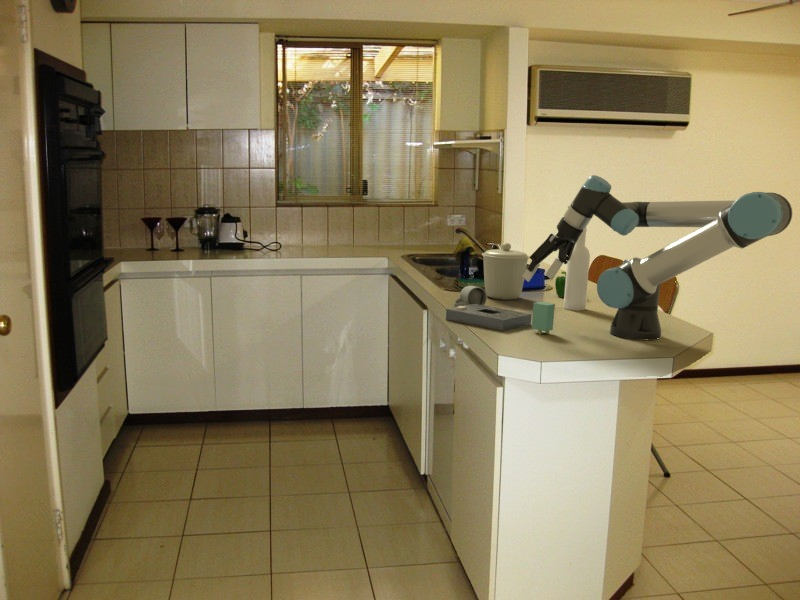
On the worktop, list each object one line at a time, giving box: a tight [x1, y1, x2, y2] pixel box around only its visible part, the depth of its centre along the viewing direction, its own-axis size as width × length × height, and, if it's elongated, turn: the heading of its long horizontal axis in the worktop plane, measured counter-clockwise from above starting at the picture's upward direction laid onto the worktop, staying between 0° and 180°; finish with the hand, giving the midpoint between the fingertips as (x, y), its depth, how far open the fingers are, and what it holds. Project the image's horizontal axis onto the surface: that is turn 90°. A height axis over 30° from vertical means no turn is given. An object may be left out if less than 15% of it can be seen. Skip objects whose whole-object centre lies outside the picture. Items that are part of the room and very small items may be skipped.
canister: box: [481, 242, 531, 301], centre depth 299 cm, size 18×18×21 cm
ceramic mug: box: [453, 285, 488, 307], centre depth 278 cm, size 11×8×8 cm
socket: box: [445, 304, 532, 332], centre depth 253 cm, size 22×16×4 cm
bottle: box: [562, 227, 591, 312], centre depth 282 cm, size 8×8×30 cm
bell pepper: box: [554, 270, 566, 299], centre depth 308 cm, size 8×8×10 cm
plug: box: [531, 301, 556, 335], centre depth 239 cm, size 5×4×9 cm
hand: (537, 278), depth 248 cm, fingers open, 13 cm apart
